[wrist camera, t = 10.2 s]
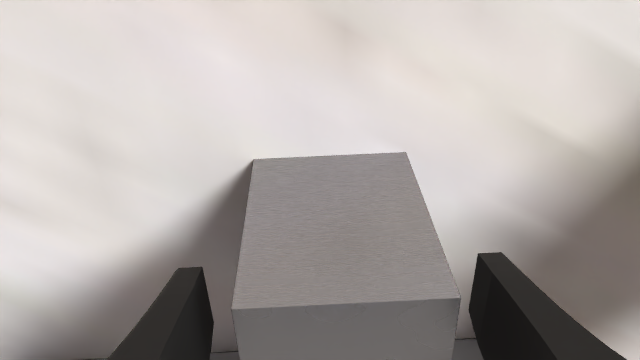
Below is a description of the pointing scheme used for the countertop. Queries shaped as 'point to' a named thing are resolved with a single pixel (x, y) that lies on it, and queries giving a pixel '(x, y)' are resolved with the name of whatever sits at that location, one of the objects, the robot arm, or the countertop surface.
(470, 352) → the scale
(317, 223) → the block
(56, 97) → the countertop surface
